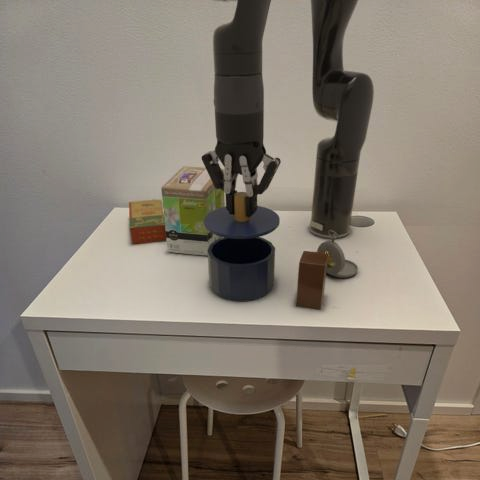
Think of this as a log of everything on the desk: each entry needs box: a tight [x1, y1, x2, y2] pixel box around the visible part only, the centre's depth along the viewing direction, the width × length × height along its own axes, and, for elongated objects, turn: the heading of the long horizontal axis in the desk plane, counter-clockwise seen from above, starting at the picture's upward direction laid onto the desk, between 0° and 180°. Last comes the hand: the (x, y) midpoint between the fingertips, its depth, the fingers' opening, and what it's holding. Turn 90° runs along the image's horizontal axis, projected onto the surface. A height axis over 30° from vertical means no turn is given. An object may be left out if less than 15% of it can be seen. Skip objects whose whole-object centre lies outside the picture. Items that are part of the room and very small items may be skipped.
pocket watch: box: [316, 230, 359, 278], centre depth 85 cm, size 8×8×10 cm
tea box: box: [160, 166, 226, 257], centre depth 97 cm, size 15×10×15 cm, turn 168°
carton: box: [128, 199, 167, 245], centre depth 105 cm, size 8×16×4 cm, turn 12°
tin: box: [207, 236, 276, 302], centre depth 83 cm, size 12×12×8 cm
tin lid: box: [204, 191, 281, 239], centre depth 76 cm, size 13×13×6 cm
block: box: [295, 250, 329, 310], centre depth 77 cm, size 4×4×9 cm
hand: (241, 213), depth 77 cm, fingers closed on tin lid, 2 cm apart
